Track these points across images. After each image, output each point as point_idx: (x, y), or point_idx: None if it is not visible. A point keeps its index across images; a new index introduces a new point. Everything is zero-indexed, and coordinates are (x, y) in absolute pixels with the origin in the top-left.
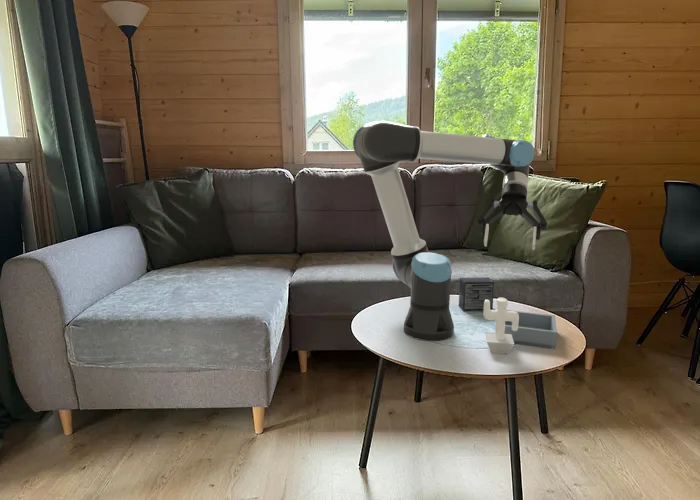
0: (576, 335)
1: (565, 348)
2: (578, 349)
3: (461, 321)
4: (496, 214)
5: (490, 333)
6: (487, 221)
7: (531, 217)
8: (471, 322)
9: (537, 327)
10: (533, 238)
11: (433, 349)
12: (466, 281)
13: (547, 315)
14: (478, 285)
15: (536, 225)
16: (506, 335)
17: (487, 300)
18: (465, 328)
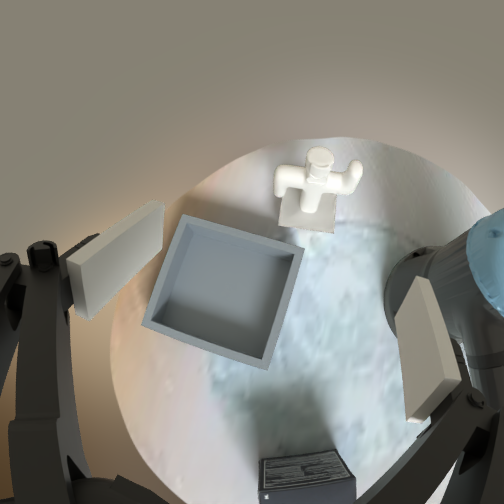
0: (119, 302)
1: (169, 233)
2: None
3: (356, 376)
4: (399, 480)
5: (323, 227)
6: (458, 402)
7: (34, 334)
8: (334, 373)
9: (187, 328)
10: (139, 218)
11: (419, 214)
12: (349, 483)
13: (158, 324)
14: (309, 481)
15: (58, 269)
16: (290, 218)
17: (357, 163)
18: (355, 331)
